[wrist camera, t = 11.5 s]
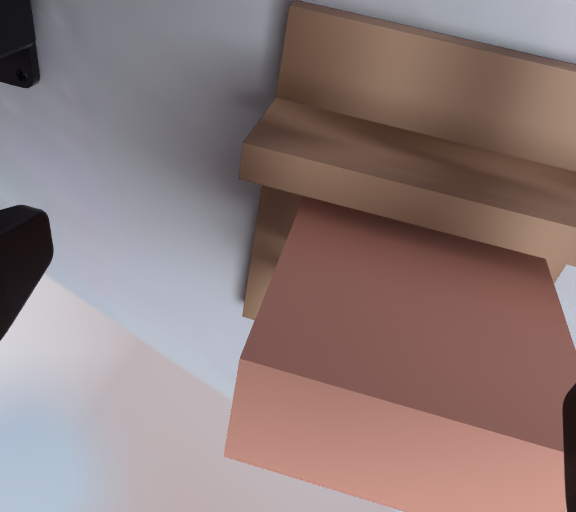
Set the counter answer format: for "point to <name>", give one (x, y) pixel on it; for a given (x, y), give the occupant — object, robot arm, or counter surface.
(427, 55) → the book rack
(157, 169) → the counter surface
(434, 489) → the pink rectangular block
